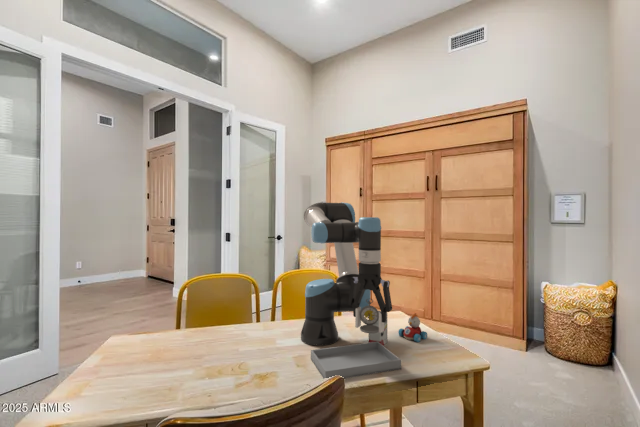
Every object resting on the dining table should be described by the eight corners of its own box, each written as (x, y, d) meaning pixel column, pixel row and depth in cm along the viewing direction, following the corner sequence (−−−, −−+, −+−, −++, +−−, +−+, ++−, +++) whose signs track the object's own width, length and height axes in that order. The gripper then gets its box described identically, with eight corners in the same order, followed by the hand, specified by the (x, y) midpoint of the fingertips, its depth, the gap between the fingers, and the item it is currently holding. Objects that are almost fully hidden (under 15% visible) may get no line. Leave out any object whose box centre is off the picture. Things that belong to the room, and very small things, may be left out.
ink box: (379, 349, 120) (380, 317, 120) (367, 346, 122) (367, 315, 123) (387, 341, 127) (388, 311, 127) (376, 339, 130) (376, 309, 130)
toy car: (396, 336, 133) (396, 312, 133) (409, 332, 138) (409, 308, 138) (416, 343, 126) (416, 318, 126) (428, 338, 131) (428, 314, 131)
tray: (325, 381, 96) (325, 371, 97) (310, 358, 112) (310, 350, 112) (401, 369, 104) (401, 359, 104) (377, 349, 120) (377, 341, 120)
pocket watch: (367, 335, 104) (367, 304, 104) (353, 327, 111) (353, 298, 111) (387, 331, 108) (387, 301, 108) (372, 324, 115) (372, 296, 115)
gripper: (337, 261, 112) (337, 326, 112) (395, 266, 101) (394, 338, 101) (348, 258, 119) (347, 320, 119) (402, 263, 107) (402, 331, 107)
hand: (369, 328), depth 110 cm, fingers closed on pocket watch, 8 cm apart
